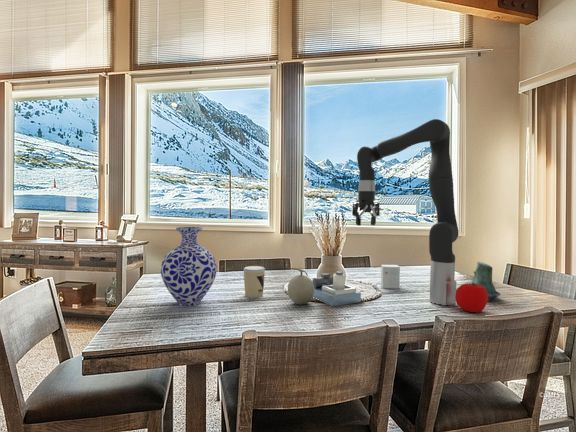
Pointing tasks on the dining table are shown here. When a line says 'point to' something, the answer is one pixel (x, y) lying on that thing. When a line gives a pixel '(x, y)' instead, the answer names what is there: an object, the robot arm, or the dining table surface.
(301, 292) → the fruit
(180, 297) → the vase
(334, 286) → the pump module
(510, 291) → the dining table surface
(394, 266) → the small box
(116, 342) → the dining table surface
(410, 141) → the robot arm
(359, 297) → the motor housing
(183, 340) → the dining table surface
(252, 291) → the coffee cup
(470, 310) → the tomato
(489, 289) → the tree stump
